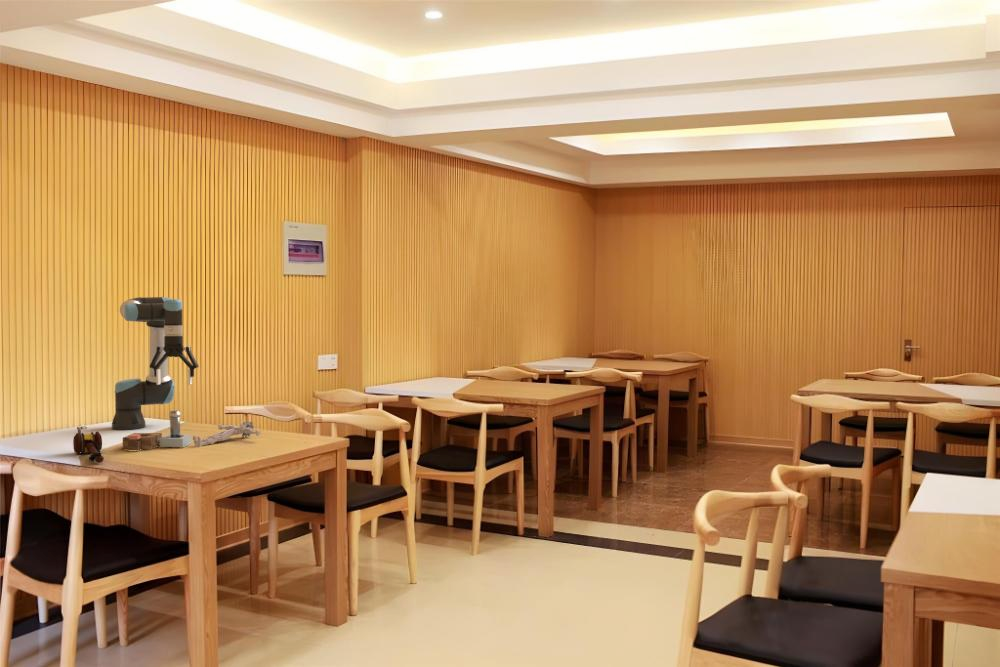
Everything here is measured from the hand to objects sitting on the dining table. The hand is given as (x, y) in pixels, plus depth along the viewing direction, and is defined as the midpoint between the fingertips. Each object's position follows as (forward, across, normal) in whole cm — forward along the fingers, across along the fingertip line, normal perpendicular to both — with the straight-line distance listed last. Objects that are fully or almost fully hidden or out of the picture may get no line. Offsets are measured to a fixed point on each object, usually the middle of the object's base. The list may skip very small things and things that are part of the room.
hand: (174, 384), depth 384 cm
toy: (+27, +18, +11) cm, 34 cm away
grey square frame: (+27, 0, 0) cm, 27 cm away
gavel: (+27, -24, -26) cm, 44 cm away
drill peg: (+27, 0, 0) cm, 27 cm away
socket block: (+27, -13, -5) cm, 30 cm away
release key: (+26, -13, -11) cm, 31 cm away
